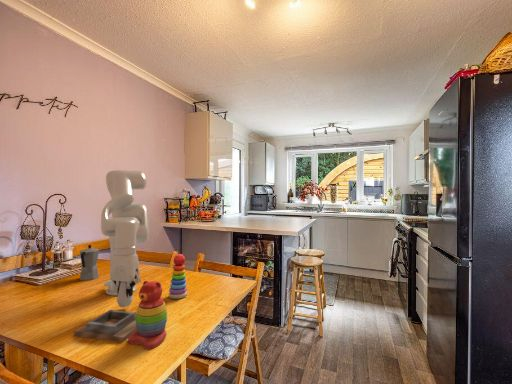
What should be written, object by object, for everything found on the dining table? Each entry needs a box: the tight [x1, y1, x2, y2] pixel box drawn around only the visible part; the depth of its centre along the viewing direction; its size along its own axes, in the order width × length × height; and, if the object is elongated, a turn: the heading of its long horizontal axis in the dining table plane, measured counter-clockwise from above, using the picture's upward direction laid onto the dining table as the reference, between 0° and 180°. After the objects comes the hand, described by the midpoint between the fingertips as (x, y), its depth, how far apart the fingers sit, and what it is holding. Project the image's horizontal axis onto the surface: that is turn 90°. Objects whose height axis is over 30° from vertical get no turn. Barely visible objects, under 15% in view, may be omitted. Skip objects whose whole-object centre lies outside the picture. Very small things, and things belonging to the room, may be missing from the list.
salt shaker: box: [116, 281, 134, 308], centre depth 105 cm, size 6×6×13 cm
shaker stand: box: [73, 309, 137, 343], centre depth 90 cm, size 18×12×4 cm, turn 78°
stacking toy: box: [168, 253, 188, 300], centre depth 120 cm, size 8×8×19 cm
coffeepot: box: [79, 244, 100, 282], centre depth 144 cm, size 15×9×18 cm, turn 9°
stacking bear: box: [127, 280, 168, 350], centre depth 85 cm, size 11×10×18 cm
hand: (125, 296), depth 105 cm, fingers closed on salt shaker, 3 cm apart
